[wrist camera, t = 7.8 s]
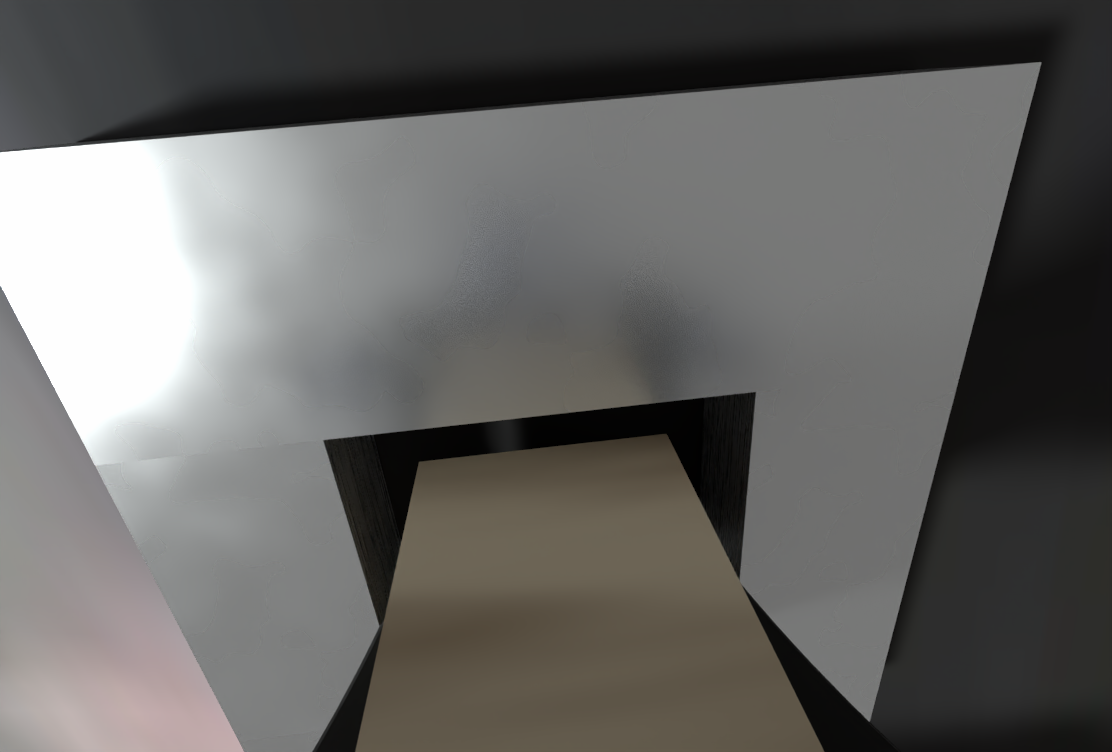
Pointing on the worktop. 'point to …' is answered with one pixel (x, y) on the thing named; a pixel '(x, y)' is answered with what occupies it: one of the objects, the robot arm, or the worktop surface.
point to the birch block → (572, 615)
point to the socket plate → (515, 337)
